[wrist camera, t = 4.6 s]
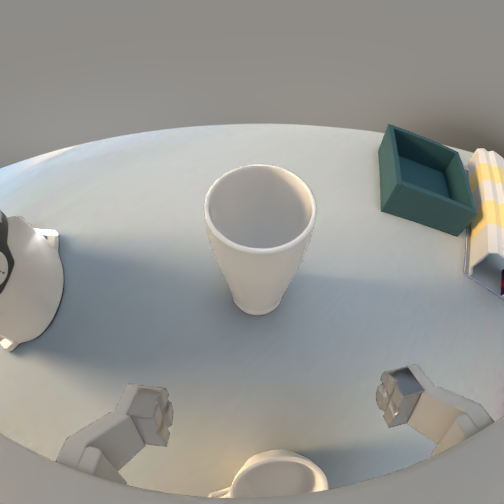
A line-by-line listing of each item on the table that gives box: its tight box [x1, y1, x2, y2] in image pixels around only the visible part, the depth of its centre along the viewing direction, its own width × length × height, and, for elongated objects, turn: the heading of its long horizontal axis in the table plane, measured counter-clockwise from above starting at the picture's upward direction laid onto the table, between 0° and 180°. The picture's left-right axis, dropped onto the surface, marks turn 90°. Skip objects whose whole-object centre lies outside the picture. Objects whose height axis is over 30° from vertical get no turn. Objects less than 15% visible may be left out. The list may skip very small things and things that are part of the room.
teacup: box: [209, 449, 328, 498], centre depth 17 cm, size 10×8×5 cm
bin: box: [378, 124, 478, 236], centre depth 34 cm, size 14×14×6 cm
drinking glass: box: [204, 164, 317, 315], centre depth 22 cm, size 7×7×15 cm
